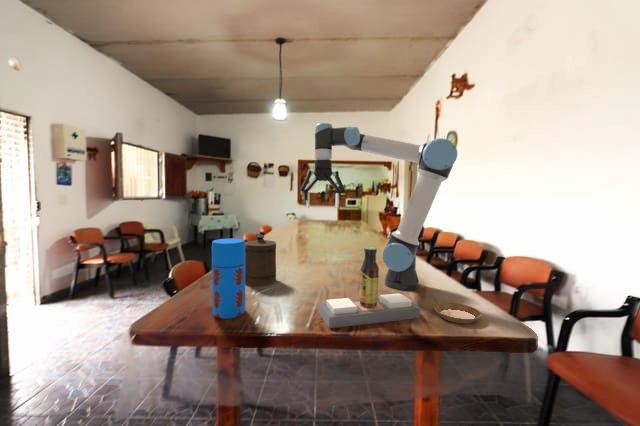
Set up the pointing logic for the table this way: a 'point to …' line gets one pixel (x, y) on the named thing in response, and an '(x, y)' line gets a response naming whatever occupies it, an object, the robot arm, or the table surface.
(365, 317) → the key pad
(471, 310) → the tan shallow bowl
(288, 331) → the table surface
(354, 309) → the key
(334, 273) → the table surface
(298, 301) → the table surface
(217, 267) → the thermos
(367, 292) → the sauce bottle
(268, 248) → the wooden container
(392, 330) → the table surface
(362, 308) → the key mid
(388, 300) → the key
